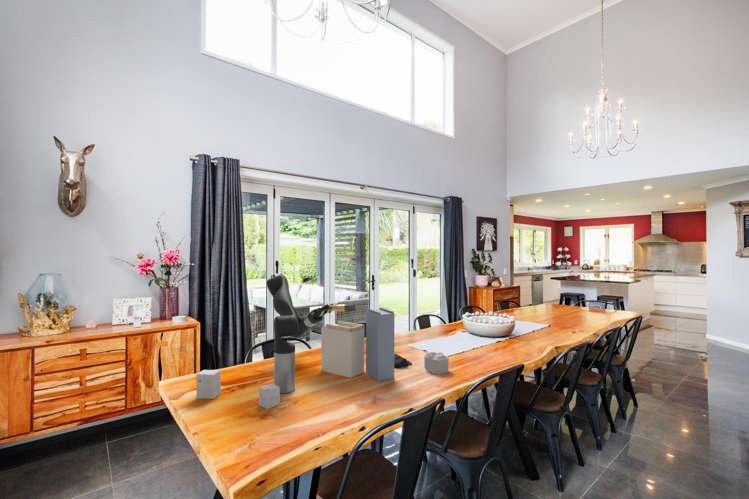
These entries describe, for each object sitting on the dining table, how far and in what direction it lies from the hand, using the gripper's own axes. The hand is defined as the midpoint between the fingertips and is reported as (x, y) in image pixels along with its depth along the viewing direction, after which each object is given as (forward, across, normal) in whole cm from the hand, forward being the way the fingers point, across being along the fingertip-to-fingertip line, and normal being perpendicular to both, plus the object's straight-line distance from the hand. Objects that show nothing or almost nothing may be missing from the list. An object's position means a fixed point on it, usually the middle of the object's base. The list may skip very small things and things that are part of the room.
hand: (330, 305), depth 189 cm
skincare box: (-4, -47, +37) cm, 60 cm away
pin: (+3, 0, +4) cm, 5 cm away
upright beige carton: (-9, +1, +33) cm, 35 cm away
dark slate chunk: (-1, +30, +39) cm, 49 cm away
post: (+6, +9, +43) cm, 44 cm away
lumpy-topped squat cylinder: (+21, +35, +51) cm, 65 cm away
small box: (-27, -60, +24) cm, 70 cm away
